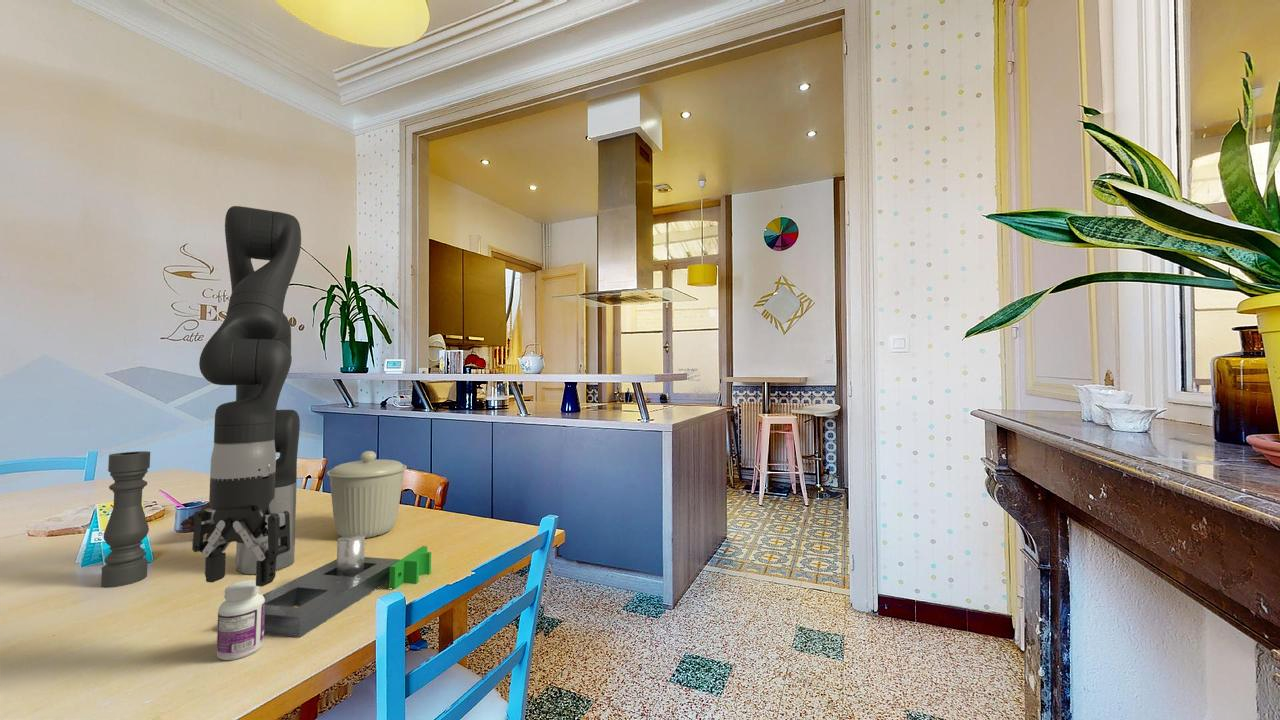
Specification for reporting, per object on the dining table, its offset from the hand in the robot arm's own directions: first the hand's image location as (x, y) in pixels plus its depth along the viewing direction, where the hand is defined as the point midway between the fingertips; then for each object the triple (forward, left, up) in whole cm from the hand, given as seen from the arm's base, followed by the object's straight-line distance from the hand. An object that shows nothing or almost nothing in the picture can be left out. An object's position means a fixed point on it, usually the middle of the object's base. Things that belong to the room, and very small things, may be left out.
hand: (240, 582), depth 71 cm
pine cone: (-53, +43, -10) cm, 69 cm away
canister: (-20, +51, -10) cm, 56 cm away
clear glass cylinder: (-1, +23, -10) cm, 25 cm away
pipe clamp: (+9, +28, -11) cm, 31 cm away
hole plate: (-1, +17, -10) cm, 20 cm away
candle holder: (-46, +17, -10) cm, 50 cm away
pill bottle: (0, +1, -10) cm, 10 cm away
